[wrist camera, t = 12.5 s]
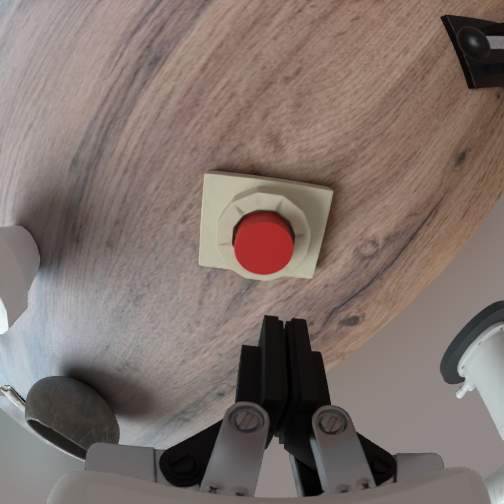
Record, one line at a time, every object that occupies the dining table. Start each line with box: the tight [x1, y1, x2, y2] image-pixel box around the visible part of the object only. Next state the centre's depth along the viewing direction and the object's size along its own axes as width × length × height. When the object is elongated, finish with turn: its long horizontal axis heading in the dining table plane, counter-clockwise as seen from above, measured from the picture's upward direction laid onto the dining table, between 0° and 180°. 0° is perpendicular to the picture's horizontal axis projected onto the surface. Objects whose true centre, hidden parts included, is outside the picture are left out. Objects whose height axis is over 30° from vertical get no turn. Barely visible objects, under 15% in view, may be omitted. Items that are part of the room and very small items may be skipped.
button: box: [234, 212, 293, 275], centre depth 19 cm, size 4×4×2 cm
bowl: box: [25, 376, 120, 461], centre depth 32 cm, size 18×18×13 cm
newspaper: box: [0, 386, 25, 413], centre depth 49 cm, size 23×12×2 cm, turn 21°
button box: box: [199, 170, 333, 281], centre depth 21 cm, size 10×8×4 cm
